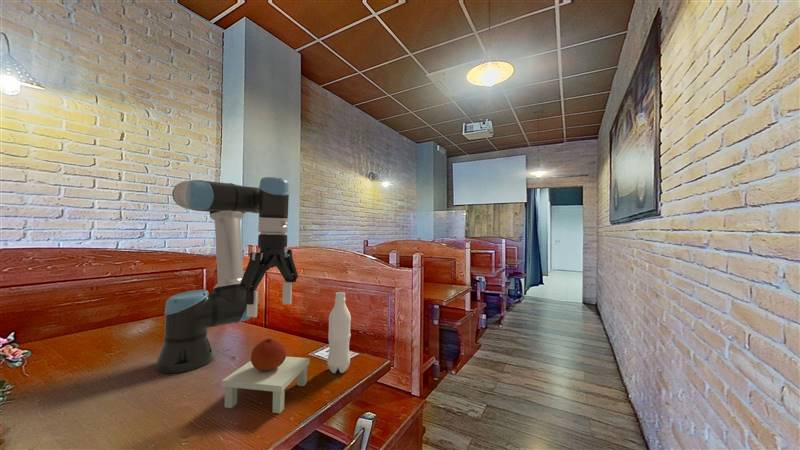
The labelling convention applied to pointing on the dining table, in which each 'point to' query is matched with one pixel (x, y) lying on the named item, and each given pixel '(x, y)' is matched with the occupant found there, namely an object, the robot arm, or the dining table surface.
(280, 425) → the dining table surface
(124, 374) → the dining table surface
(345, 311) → the water bottle
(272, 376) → the small white table
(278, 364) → the fruit
